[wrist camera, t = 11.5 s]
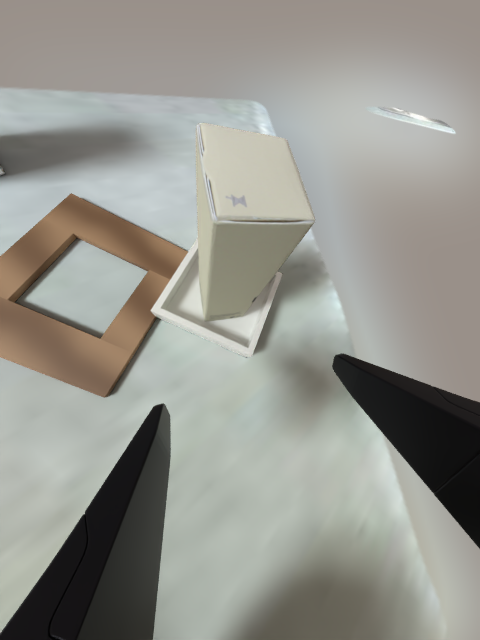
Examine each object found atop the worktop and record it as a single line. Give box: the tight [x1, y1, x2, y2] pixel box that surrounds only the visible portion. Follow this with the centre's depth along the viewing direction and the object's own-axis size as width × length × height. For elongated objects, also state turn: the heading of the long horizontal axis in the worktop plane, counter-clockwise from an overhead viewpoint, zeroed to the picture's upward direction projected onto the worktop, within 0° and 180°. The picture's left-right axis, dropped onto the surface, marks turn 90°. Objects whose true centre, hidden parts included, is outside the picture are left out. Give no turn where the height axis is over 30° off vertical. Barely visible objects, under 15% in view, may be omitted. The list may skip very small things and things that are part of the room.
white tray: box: [151, 238, 283, 358], centre depth 18 cm, size 10×10×2 cm
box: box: [196, 123, 315, 321], centre depth 13 cm, size 5×4×13 cm
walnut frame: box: [0, 194, 188, 398], centre depth 16 cm, size 16×14×1 cm
